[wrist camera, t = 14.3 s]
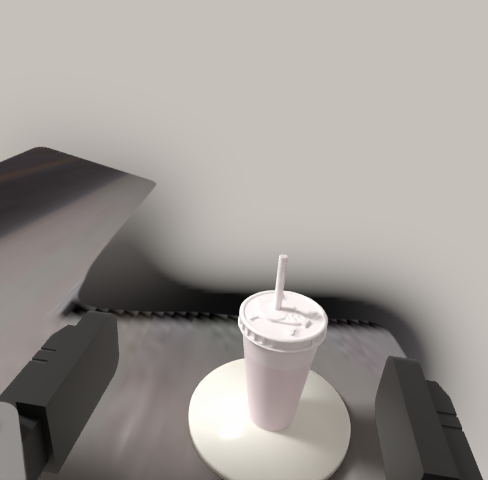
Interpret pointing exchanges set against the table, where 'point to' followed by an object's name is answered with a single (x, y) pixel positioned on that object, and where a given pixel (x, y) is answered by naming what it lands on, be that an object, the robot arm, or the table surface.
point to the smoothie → (278, 350)
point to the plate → (267, 442)
